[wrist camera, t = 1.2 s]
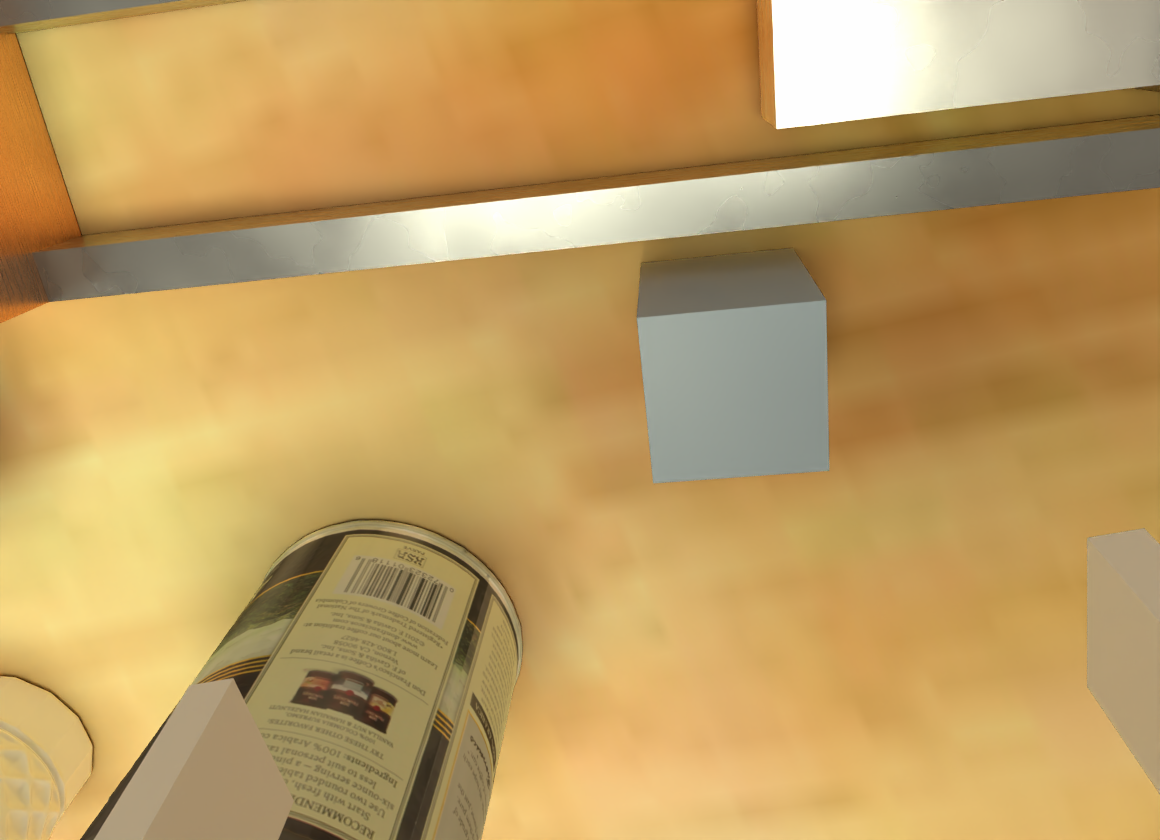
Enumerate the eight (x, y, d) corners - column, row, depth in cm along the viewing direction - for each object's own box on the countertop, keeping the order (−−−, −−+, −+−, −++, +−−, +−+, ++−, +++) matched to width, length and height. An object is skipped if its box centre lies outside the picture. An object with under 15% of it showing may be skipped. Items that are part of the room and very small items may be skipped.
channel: (1268, -215, 22) (1469, -297, 17) (1214, 163, 26) (1367, 198, 20) (-128, -4, 27) (-332, -15, 21) (-16, 293, 30) (-167, 350, 25)
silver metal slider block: (1238, -107, 23) (1423, -152, 17) (1213, 79, 24) (1374, 92, 19) (755, -40, 24) (783, -62, 19) (762, 132, 26) (790, 157, 20)
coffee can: (292, 748, 37) (94, 1133, 24) (227, 525, 33) (-52, 842, 20) (543, 740, 36) (476, 1142, 23) (506, 509, 32) (400, 834, 19)
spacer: (792, 247, 27) (826, 300, 22) (797, 388, 29) (829, 470, 24) (641, 262, 28) (636, 317, 23) (654, 400, 30) (653, 483, 24)
